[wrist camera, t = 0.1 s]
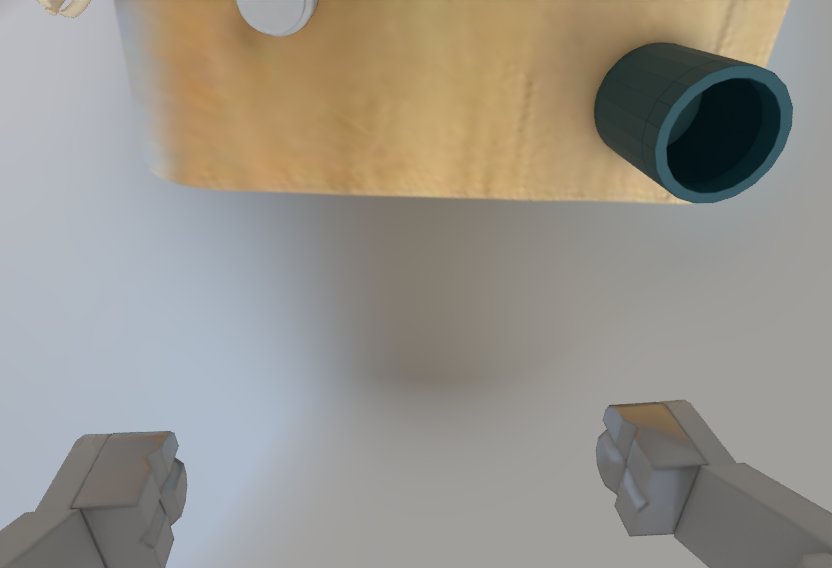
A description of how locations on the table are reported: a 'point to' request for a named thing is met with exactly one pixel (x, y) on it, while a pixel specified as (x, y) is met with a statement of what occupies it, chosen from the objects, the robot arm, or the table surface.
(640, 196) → the table surface
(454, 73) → the table surface
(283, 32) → the pill bottle
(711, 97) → the jar
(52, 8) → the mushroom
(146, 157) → the table surface
